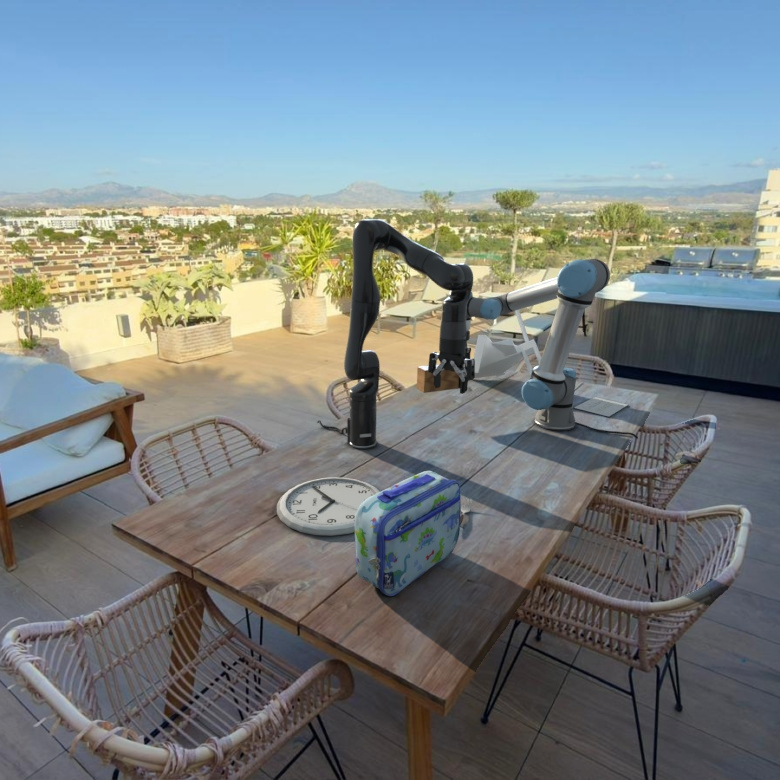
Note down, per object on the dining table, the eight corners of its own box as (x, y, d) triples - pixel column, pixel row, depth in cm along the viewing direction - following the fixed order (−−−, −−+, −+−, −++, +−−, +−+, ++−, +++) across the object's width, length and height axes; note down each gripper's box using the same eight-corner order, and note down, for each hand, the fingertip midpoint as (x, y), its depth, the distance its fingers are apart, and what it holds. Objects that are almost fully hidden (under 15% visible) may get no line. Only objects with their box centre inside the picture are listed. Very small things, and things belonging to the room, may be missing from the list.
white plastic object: (484, 420, 263) (463, 398, 239) (465, 347, 285) (445, 319, 261) (556, 396, 251) (542, 370, 226) (530, 322, 273) (515, 290, 248)
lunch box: (383, 609, 104) (384, 516, 98) (348, 583, 111) (347, 495, 105) (463, 555, 122) (469, 473, 115) (429, 536, 129) (432, 458, 123)
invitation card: (608, 416, 214) (573, 407, 224) (608, 416, 214) (573, 408, 224) (628, 404, 229) (594, 396, 238) (628, 405, 229) (594, 397, 238)
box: (459, 383, 220) (460, 362, 217) (467, 387, 215) (468, 365, 212) (416, 388, 212) (417, 366, 209) (423, 392, 207) (424, 370, 204)
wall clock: (392, 527, 129) (268, 531, 127) (391, 533, 130) (269, 537, 127) (383, 473, 158) (282, 475, 155) (383, 478, 158) (282, 480, 156)
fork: (449, 533, 130) (450, 526, 130) (463, 503, 145) (463, 496, 144) (459, 535, 129) (460, 528, 129) (472, 505, 144) (473, 498, 143)
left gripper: (424, 334, 150) (422, 388, 155) (468, 341, 142) (465, 398, 147) (438, 330, 156) (436, 383, 160) (481, 337, 148) (477, 392, 152)
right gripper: (440, 326, 216) (437, 379, 223) (465, 335, 199) (461, 392, 206) (456, 325, 219) (453, 377, 226) (482, 333, 202) (477, 390, 209)
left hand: (450, 390), depth 154 cm, fingers open, 8 cm apart
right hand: (457, 384), depth 216 cm, fingers closed on box, 6 cm apart
